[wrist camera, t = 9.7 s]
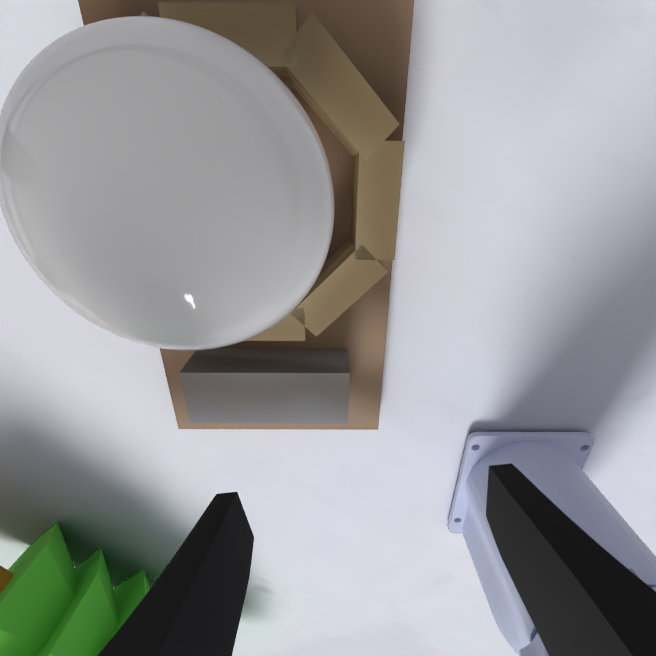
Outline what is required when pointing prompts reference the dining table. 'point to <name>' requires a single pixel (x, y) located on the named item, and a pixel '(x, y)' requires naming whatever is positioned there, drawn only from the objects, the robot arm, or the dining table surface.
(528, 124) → the dining table surface
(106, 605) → the decorative tree
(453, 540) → the dining table surface
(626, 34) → the dining table surface
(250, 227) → the lightbulb
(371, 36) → the jig
